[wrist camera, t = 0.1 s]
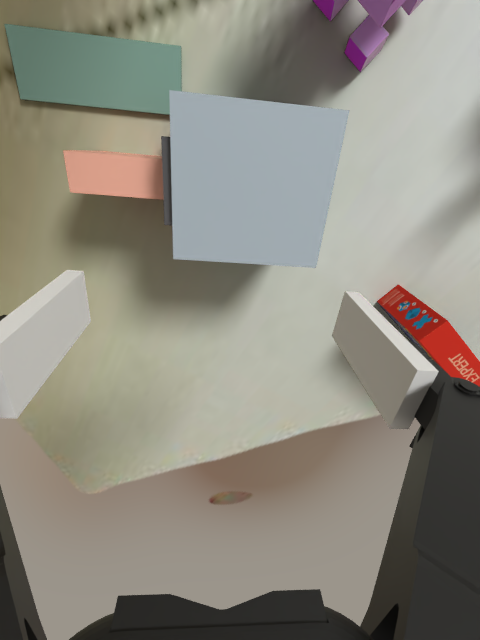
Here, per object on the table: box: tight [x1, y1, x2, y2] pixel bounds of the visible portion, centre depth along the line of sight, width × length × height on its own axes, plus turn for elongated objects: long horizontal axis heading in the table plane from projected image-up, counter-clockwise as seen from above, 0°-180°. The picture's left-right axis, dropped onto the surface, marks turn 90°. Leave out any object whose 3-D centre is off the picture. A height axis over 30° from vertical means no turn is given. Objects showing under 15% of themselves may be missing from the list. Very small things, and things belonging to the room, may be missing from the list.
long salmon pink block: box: [63, 150, 164, 200], centre depth 33 cm, size 4×16×10 cm, turn 85°
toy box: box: [377, 285, 480, 387], centre depth 46 cm, size 18×4×12 cm, turn 46°
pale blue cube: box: [161, 90, 349, 268], centre depth 32 cm, size 13×15×14 cm
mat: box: [5, 24, 182, 115], centre depth 32 cm, size 6×17×1 cm, turn 85°
